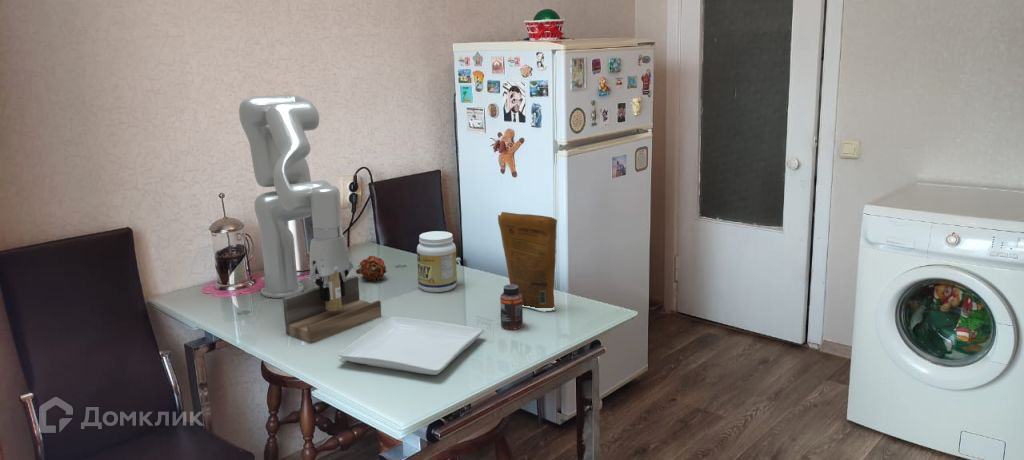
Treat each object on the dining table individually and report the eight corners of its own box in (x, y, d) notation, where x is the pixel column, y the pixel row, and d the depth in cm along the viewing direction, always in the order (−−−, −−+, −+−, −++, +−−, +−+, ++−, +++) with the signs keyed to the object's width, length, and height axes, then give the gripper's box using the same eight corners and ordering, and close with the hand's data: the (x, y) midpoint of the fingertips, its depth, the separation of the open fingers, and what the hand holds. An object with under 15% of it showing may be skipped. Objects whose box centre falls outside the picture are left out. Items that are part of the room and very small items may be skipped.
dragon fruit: (380, 289, 233) (363, 285, 243) (397, 269, 237) (380, 266, 246) (363, 271, 229) (346, 268, 239) (381, 251, 233) (363, 249, 242)
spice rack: (286, 333, 194) (282, 298, 192) (356, 308, 212) (354, 275, 210) (310, 343, 188) (307, 306, 185) (381, 316, 206) (379, 282, 203)
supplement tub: (410, 286, 231) (408, 234, 226) (441, 278, 238) (439, 228, 234) (433, 296, 222) (431, 242, 218) (465, 287, 230) (463, 234, 225)
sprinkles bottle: (344, 309, 198) (341, 261, 195) (328, 312, 196) (324, 264, 192) (338, 304, 202) (335, 257, 199) (322, 307, 200) (319, 260, 196)
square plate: (440, 385, 165) (439, 369, 164) (336, 368, 174) (334, 353, 173) (485, 340, 190) (485, 326, 189) (392, 327, 199) (391, 314, 198)
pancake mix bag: (549, 317, 204) (550, 219, 197) (497, 303, 215) (495, 210, 208) (563, 310, 209) (564, 215, 202) (511, 296, 220) (510, 206, 213)
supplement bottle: (525, 323, 199) (525, 284, 197) (518, 331, 194) (518, 291, 191) (505, 321, 201) (504, 282, 198) (497, 328, 196) (496, 288, 193)
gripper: (344, 224, 202) (348, 286, 207) (292, 237, 189) (298, 303, 194) (362, 228, 198) (366, 292, 202) (310, 241, 185) (316, 309, 189)
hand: (332, 296), depth 198 cm, fingers closed on sprinkles bottle, 4 cm apart
